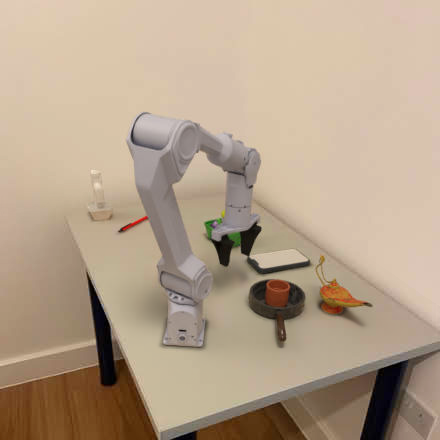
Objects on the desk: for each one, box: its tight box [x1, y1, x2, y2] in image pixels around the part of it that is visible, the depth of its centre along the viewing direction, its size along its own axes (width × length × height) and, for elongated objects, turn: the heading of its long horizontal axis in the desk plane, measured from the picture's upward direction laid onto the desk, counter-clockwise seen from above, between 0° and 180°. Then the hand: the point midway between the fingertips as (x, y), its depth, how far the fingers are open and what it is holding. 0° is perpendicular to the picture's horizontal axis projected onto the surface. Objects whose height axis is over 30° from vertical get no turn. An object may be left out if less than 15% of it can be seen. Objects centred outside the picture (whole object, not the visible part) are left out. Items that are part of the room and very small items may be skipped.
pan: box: [248, 278, 306, 320], centre depth 103 cm, size 13×13×3 cm
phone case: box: [246, 248, 311, 274], centre depth 121 cm, size 9×2×16 cm
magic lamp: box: [315, 254, 374, 315], centre depth 99 cm, size 7×18×11 cm, turn 30°
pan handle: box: [275, 310, 287, 343], centre depth 93 cm, size 11×2×2 cm, turn 178°
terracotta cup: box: [265, 278, 290, 307], centre depth 102 cm, size 5×5×5 cm
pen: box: [117, 215, 148, 233], centre depth 140 cm, size 1×19×1 cm, turn 151°
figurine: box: [86, 168, 114, 221], centre depth 139 cm, size 7×9×15 cm
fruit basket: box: [203, 209, 241, 248], centre depth 129 cm, size 11×9×11 cm
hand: (234, 259), depth 102 cm, fingers open, 7 cm apart
